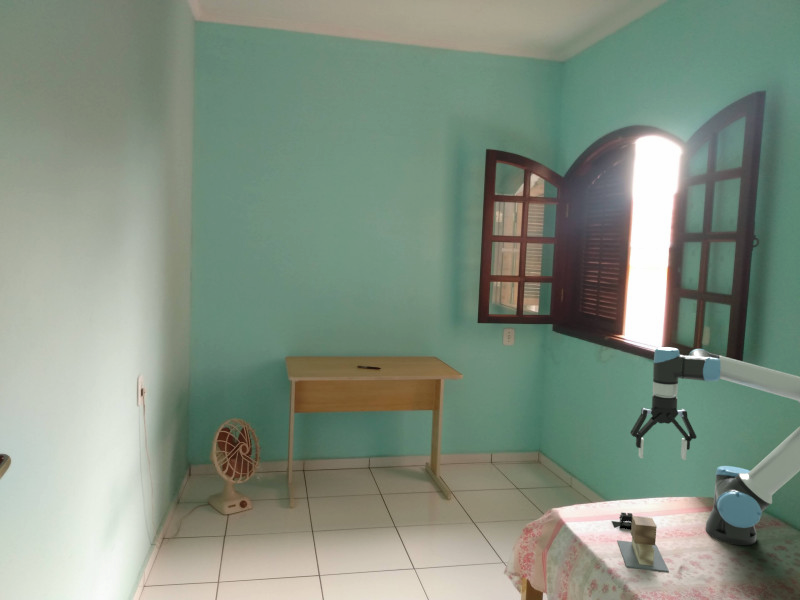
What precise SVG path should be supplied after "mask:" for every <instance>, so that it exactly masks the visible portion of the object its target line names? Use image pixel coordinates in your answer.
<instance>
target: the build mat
mask: <svg viewBox="0 0 800 600" xmlns="http://www.w3.org/2000/svg"><path fill="white" fill-rule="evenodd" d="M617 544H618V546H619V549H620V553H621V555H622V557H623V558H622V559H623V561H624V563H625V567H626V568H631V569H639V570H648V571H657V572H664V573H669V572H670V571H669V569H668V567H667V564H666V562H665V559H664V558H663V555H662V554H661V552H660V549H659V547H658V545H657V544H656V543H655V545H652V546H653V548H654V561H653V566H652V565H643V564H639V562H638V560H637V557H636V555H635V552H634V550H633V547H632V541H627V540H618V539H617Z"/></svg>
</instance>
